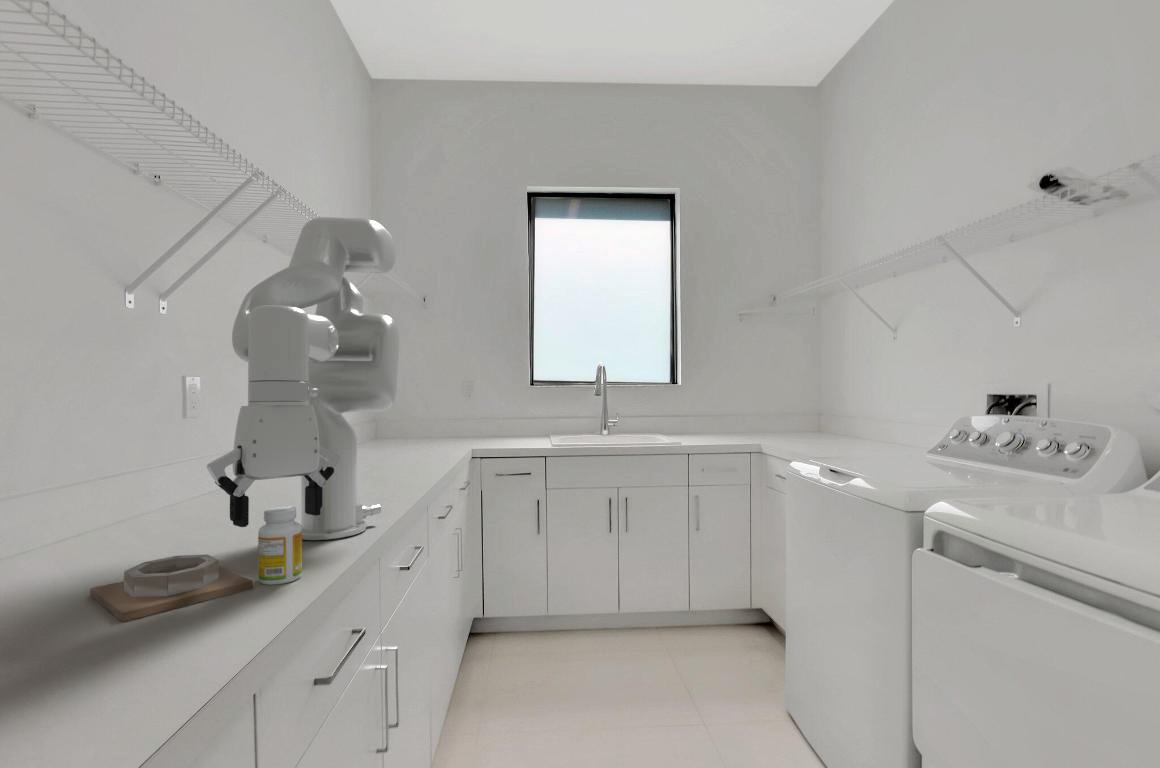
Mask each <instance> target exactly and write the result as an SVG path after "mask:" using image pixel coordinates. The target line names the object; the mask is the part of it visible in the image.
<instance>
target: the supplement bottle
mask: <svg viewBox="0 0 1160 768" xmlns="http://www.w3.org/2000/svg"><path fill="white" fill-rule="evenodd" d="M296 518H297V508H296V507H295V506H279V507H278V506H277V507H272V508H267V509H264V511H263V521H264V522H265V524H264V525H262V526H261V527H260V528H259V529H258V532H257V533H258V536H257V543H258V544H257V545H258V546H257V547H258V548H257V549H258V556H257V557H258V559H257V561H258V582H259V583H260V584H262V585H269V586H274V585H284V584H287V583H291V582H294V581H296V580H298V579H300V578H301V577H302V575H303V547H302V546H303V540H302V528H301V523H299V522H297V521H295V519H296Z"/></svg>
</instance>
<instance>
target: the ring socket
mask: <svg viewBox="0 0 1160 768" xmlns="http://www.w3.org/2000/svg"><path fill="white" fill-rule="evenodd" d="M89 589H90V590H89V596H90V597H91V598H92V599H93V600H94V601H96V602H98V604H99V605H101V606H102V607H103V608H104V609H106V610H107V611H108V612H110V613H111V614H112V615H114V616H115V617H116V618H117V619H119V620H120V621H121V622H122V623H124V622H128V621H131V620H136V619H139V618H142V617H147V616H150V615H156V614H158V613H162V611H163V612H166V610H167V611H171V610H175V609H177V608H182V607H186V606H190V605H194V604H196V603H201V602H206V601H208V600H213V599H216V598H221V597H224V596H229V595H232V594H233V595H234V594H236V593H240V592H244V591H248V590H251V589H254V580H253V579H250V578H248V577H245V576H244V575H241V574H240V573H236V572H235V571H233V570H230V569H227V568H225V567H223V566H221V565H220V564H219V558H217V557H215V556H212V555H210V554H192V555H191V554H186V555H185V554H184V555H183V554H182V555H174V556H170V557H169V556H168V557H165V558H164V557H163V558H158V559H154V560H148V561H144V562H141V563H139V564H136V565H134V566H133V567H132V566H131V567H130V568H128V569H126V570H124V571H123V580H122V581H117V582H112V583H108V584H104V585H103V584H102V585H98V586H93V587H89ZM174 608H175V609H174ZM170 609H171V610H170Z"/></svg>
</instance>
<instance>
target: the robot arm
mask: <svg viewBox="0 0 1160 768" xmlns="http://www.w3.org/2000/svg"><path fill="white" fill-rule="evenodd" d="M396 259H397V249H396V243H395V241H394V238H393V237H392V235H391V233H390V232H389V231H388V230H387V229H386V228H385V227H384V226H383V225H382V224H380V222H377V221H376V220H372V219H369V218H355V217H330V216H321V217H316V218H312V219H310V220H309V221H307V222H306V223H304V225H303V226H302V228H301V231H300V234H299V236H298V238H297V242H296V245H295V247H294V251H293V253H292V257H291V258H290V262H289V265H288V267H285V268H283V269H281V270H279V271H277V272H276V273H274V274H272V275H270V276H269V277H267V278H265V279H264V280H262V281H261V282H258V283H257V284H256V285H254V287H252V288H251V289H250V290H249V291H248V293H246V294H245V296H244V298H243V300H242V302H241V305H240V307H239V309H238V312H237V314H236V317H235V319H234V323H233V328H232V332H231V342H232V348H233V350H234V353H235V354H236V356H237V357H239V358H240V359H241V360H242V361H244V362H247V363H248V367H247V368H248V369H247V405H241V406H240V407H239V412H238V416H237V421H236V422H237V423H236V427H235V434H234V441H233V449H232V450H231V451H229V452H227V453H226V454H223V455H222V456H220V457H218V458H216V459H214V460H212V461H210V462H209V463H208V464H207V465H206V468H207V471H208V472H209V473H210V476H211V478H212V479H213V480H214V483H215V484H216V485H217V486H218V487H219V488H220V489H222V490H223V491H224V492H225V493H226V495H228V496H229V519H230V520H229V521H231V522H232V525H233V526H235V527H240V528H246V527H247V526H249V523H250V521H249V520H250V518H249V516H250V515H249V514H250V513H249V511H250V509H249V507H250V500H249V498H250V497H249V495H246V492H247V491H248V489H249V488H250V487H251V486H252V484H253V483H254V482H255V481H258V480H260V481H262V480H272V479H273V480H274V479H283V478H293V477H300V517H301V520H300V525H301V528H302V541H321V540H322V541H323V540H324V541H325V540H326V541H327V540H335V539H342V538H347V537H350V536H351V537H352V536H355V535H358V534H360V533H363V532H364V531H366V530H367V522H366V521H364V520H365V519H366V518H367V516H377V515H380V514H381V513H382V507H381V505H380V504H379V503H377V504H372V505H369V506H368V505H363V504H360V503H358V438H357V433H356V431H355V429H354V428H353V426H352V424H351V423H349V422H348V420H347V419H346V418H345V417H344V415H343V413H364V412H365V413H366V412H369V413H371V412H383V411H387V410H389V409H390V408H391V407H392V406H393V405H394V403H395V400H396V394H397V383H398V370H399V369H398V367H399V355H400V334H399V333H400V332H399V329H398V325H397V323H396V321H395V320H394V319H393V318H392V317H391V316H390V315H388V314H382V313H363V307H364V299H363V295H362V294H361V293H360V291H359V290H358V288H357V287H356V286H355V285H354V284H353V283H352V282H351V281H350V280H349V279H347V278H346V277H345V276H344V274H345V273H367V274H368V273H370V274H382V273H383V274H384V273H389V272H390V271H391V270H392V269H393V268H394V266H395V264H396ZM313 306H316V309H315V314H312V313H307V312H306V311H304V310H303V309H305V308H308V307H313ZM230 465H232V474H233V476H235V478H234V479H233V480H232V479H231V478H230V477H228V475H227V473H226V468H227V467H228V466H230Z"/></svg>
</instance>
